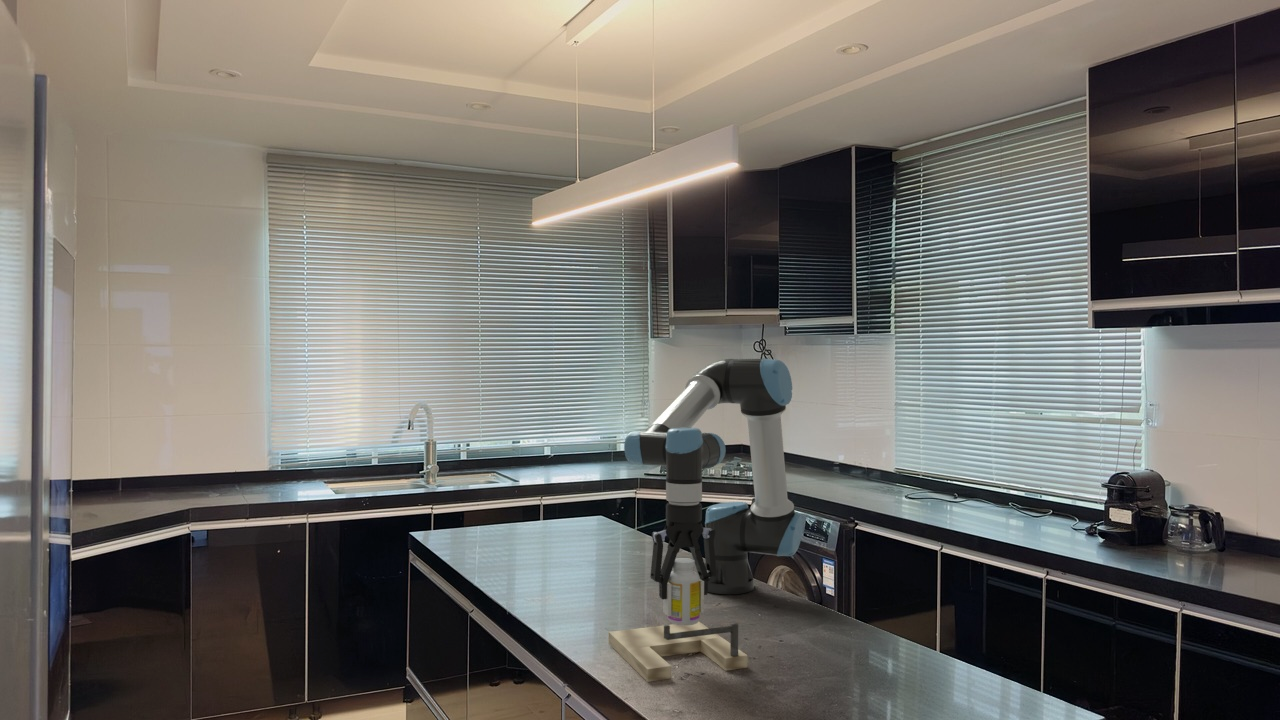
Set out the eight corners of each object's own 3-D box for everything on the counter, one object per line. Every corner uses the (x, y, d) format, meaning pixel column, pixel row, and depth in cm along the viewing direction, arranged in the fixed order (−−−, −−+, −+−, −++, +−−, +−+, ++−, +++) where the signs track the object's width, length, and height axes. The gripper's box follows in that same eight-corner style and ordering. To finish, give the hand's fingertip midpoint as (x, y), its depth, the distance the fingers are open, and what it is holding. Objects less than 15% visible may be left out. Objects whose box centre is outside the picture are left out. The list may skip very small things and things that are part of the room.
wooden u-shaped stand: (698, 632, 197) (698, 588, 197) (747, 667, 174) (747, 617, 174) (608, 643, 189) (608, 597, 189) (647, 681, 167) (647, 629, 167)
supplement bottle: (697, 616, 181) (698, 556, 181) (701, 626, 174) (701, 563, 174) (666, 616, 181) (666, 556, 181) (668, 626, 174) (668, 564, 174)
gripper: (718, 496, 184) (718, 603, 184) (633, 502, 177) (633, 612, 177) (734, 502, 177) (733, 612, 177) (646, 507, 170) (646, 622, 170)
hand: (683, 612), depth 177 cm, fingers closed on supplement bottle, 7 cm apart
